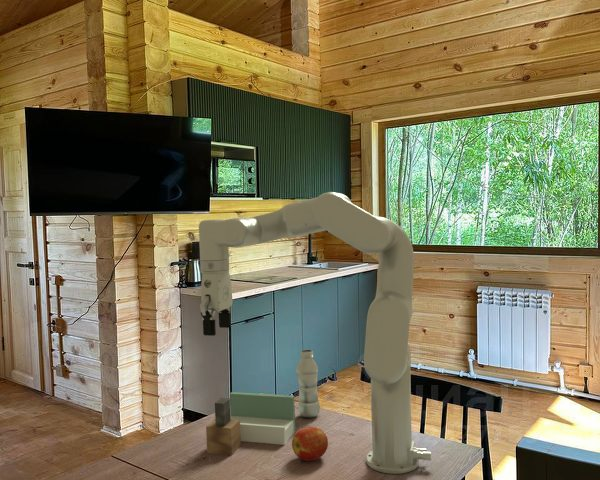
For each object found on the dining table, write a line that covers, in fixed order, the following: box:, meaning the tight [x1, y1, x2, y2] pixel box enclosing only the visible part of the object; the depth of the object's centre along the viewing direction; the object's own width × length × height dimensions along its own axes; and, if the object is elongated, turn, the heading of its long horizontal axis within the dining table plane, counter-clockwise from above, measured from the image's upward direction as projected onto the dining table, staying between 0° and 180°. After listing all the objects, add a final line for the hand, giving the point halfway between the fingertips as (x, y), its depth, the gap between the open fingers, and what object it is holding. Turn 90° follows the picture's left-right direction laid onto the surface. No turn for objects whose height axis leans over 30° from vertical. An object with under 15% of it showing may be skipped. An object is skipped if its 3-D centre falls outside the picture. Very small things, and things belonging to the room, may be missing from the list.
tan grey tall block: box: [205, 397, 242, 456], centre depth 143 cm, size 7×6×13 cm
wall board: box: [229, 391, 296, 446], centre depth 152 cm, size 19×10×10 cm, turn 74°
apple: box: [291, 426, 329, 462], centre depth 136 cm, size 8×8×8 cm
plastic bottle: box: [296, 349, 321, 418], centre depth 165 cm, size 6×7×20 cm
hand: (217, 331), depth 143 cm, fingers open, 9 cm apart
